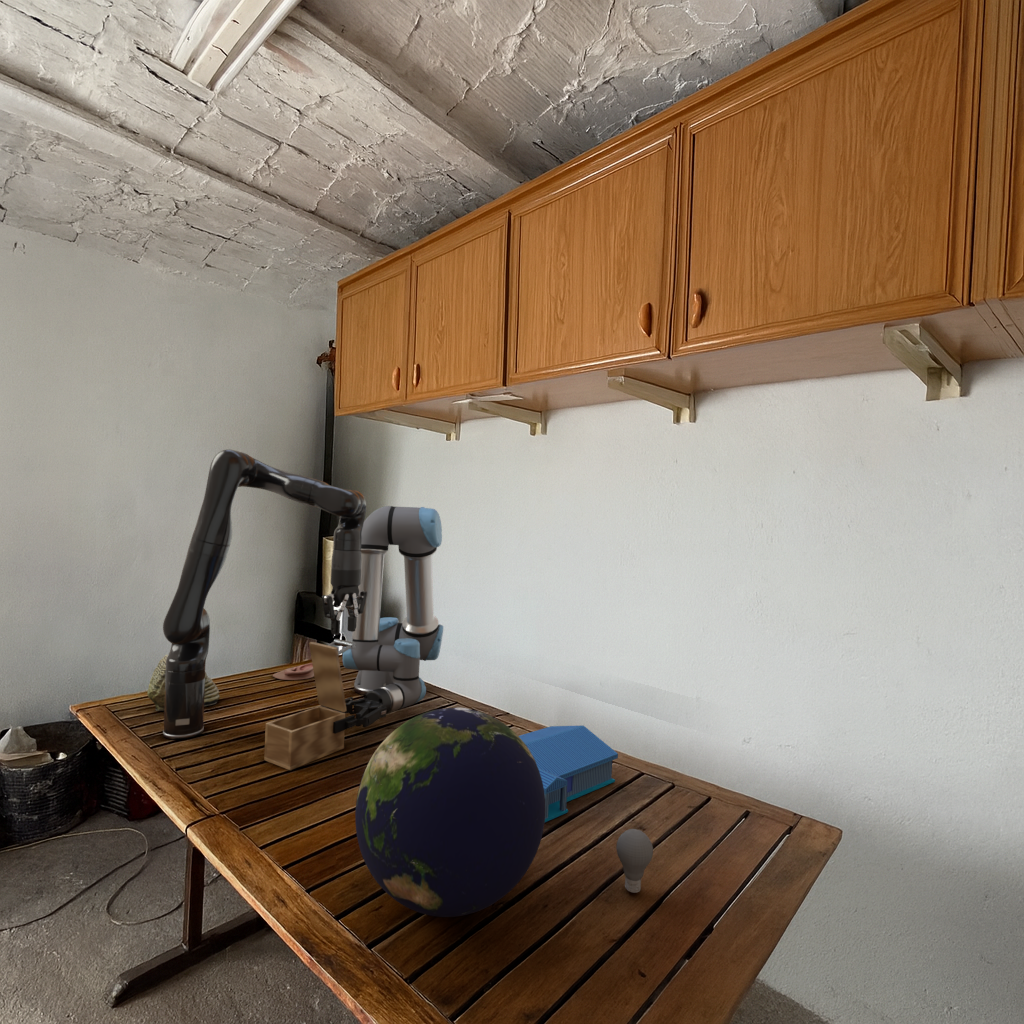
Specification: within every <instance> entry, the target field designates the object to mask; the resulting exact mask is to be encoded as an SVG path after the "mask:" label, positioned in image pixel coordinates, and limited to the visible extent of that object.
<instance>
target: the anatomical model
mask: <svg viewBox="0 0 1024 1024" xmlns="http://www.w3.org/2000/svg"><path fill="white" fill-rule="evenodd" d="M272 677H273V678H275V679H277V680H281V681H282V680H283V681H293V680H294V681H298V680H307V679H311V678H313V677H314V671H313V665H312V662H309V663H305V664H302V665H298V666H292V667H289V668H286V669H284V670H281V671H278V672H275V673H274V674H272Z"/></svg>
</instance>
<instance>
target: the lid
mask: <svg viewBox="0 0 1024 1024" xmlns="http://www.w3.org/2000/svg"><path fill="white" fill-rule="evenodd" d="M308 644H309V651H310V658H311V663H312V665H313V671H314V676H313V677H314V683H315V688H316V695H317V701H318V706H321V705H322V706H325V707H329V708H332V709H335V710H339V711H342V712H345V711H347V710H346V703H345V699H346V697H345V691H344V685H343V676H342V671H341V663H340V658H339V656H340V655H341V654H343V652H345V651H347V650H349V649H351V648H352V649H354V648H355V647H356V643H353V642H352V641H349V640H343V639H339V638H335V639H334V640H333V641H332V642H331V643H328V644H323V643H319V642H315V641H310V642H308ZM335 645H336V646H340V647H343V648H341V649H338V647H336V646H335ZM344 647H345V648H344Z"/></svg>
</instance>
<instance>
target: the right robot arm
mask: <svg viewBox="0 0 1024 1024" xmlns="http://www.w3.org/2000/svg"><path fill="white" fill-rule="evenodd" d="M442 528H443V526H442V521H441V516H440V514H439V512H438V511H437V510H436V509H435V508H431V507H424V506H420V507H419V506H418V507H417V506H415V507H414V506H393V505H386V506H385V505H384V506H382V507H379V508H377V509H375V510H373V512H371V513H370V514H369V515H368V516H367V517H365V519H364V524H363V528H362V533H361V536H362V539H361V557H362V563H361V584H360V585H359V586H358V588H359V590H360V591H366V592H367V597H366V602H365V606H364V611H363V613H362V614H359V615H358V617H357V623H356V629H355V631H353V632H352V641H351V642H353V643H356V647H355V648H354V649H352V648H351V649H349V650H347V651H345V652H343V653H342V666H343V667H344V668H345V669H346V670H352V671H353V670H354V671H358V672H357V674H356V678H355V680H354V683H353V691H354V692H355V693H357V694H359V695H363V696H364V697H362V698H358V699H354V697H353V696H349V697H345V703H346V710H347V711H345V712H342V711H339V710H336V711H339V712H342V713H345V715H346V714H349V716H347V717H346V716H345V718H344V719H341V720H338V721H335V722H333V733H335V734H336V733H338V732H341V731H343V730H345V731H346V730H348V729H351V728H354V727H361V726H362V728H368V727H369V726H371V725H372V724H374V723H375V722H377V721H379V720H380V719H382V718H385V717H387V715H390V714H391V713H394V712H396V711H398V710H399V711H400V710H401V709H404V708H407V707H409V706H414V705H415V704H417V703H420V702H422V700H423V699H424V698H425V696H426V693H427V687H426V685H425V681H424V680H423V679H422V678H421V677H420V662H421V661H424V662H425V661H436V660H437V659H438V658H439V657H440V651H441V647H442V643H443V634H444V625H443V624H439V619H438V618H437V616H435V615H434V580H433V578H434V575H433V555H434V554H435V553H436V552H437V550H438V548H440V547H441V545H442V542H443V529H442ZM389 545H390V546H398V553H399V554H400V555H401V556H403V563H404V564H403V567H404V585H405V608H406V617H405V618H404V619H403V620H402V622H400V621H399V618H397V617H391V616H389V617H381V608H382V593H383V580H384V578H383V577H384V568H385V567H384V565H385V556H386V554H388V553H389ZM359 609H360V604H359ZM343 648H345V647H343ZM320 706H322V705H320ZM322 707H325V706H322ZM326 708H329V707H326ZM329 709H332V708H329ZM332 710H335V709H332Z"/></svg>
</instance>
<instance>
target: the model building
mask: <svg viewBox="0 0 1024 1024" xmlns="http://www.w3.org/2000/svg"><path fill="white" fill-rule="evenodd" d="M518 736H519V737H520V738H521V740H522V741H523V742H524V743H525V745H526V746H527V747H528V749H529V751H530V752H531V754H532V756H533V757H534V759H535V761H536V764H537V767H538V769H539V772H540V775H541V779H542V783H543V788H544V794H545V823H547V822H550V821H552V820H554V819H556V818H558V817H560V816H563V815H565V814H567V813H569V809H568V808H567V803H569V802H571V801H573V800H575V799H577V798H580V797H582V796H586V795H587V794H589V793H590V794H591V793H592V792H594V791H597V790H599V789H601V788H604V787H606V786H608V785H611V784H614V783H616V779H615V778H613V777H612V775H613V761H615V760H617V759H619V753H618V752H617V751H616V750H615V749H613V748H612V747H611V746H609V745H608V744H607V743H606V742H604V741H603V740H602V738H600V737H599V736H597V735H596V734H594V733H593V732H592V731H591V730H590V729H588V728H587V727H586V726H585V725H553V726H552V725H551V726H546V727H544V728H540V729H537V730H534V731H531V732H530V731H529V732H527V733H524V734H520V735H518Z"/></svg>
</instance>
